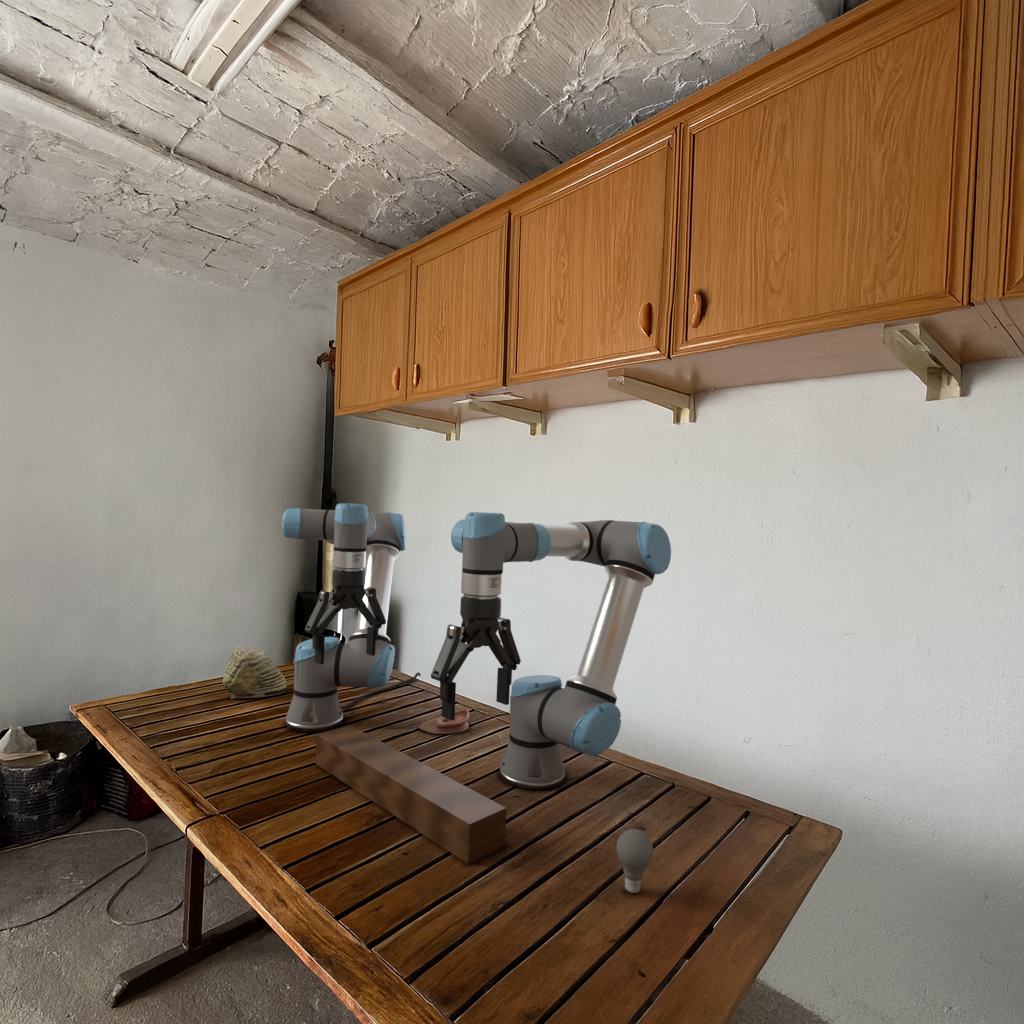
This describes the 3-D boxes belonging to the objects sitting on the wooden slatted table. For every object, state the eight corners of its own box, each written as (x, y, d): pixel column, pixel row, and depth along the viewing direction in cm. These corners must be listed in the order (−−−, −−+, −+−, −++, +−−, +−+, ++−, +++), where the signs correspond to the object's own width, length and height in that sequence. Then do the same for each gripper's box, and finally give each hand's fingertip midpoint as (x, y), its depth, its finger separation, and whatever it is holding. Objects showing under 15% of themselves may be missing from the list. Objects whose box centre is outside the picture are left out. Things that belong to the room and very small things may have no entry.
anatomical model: (415, 716, 173) (429, 704, 184) (414, 731, 173) (428, 717, 184) (462, 722, 170) (473, 709, 181) (461, 737, 170) (472, 722, 181)
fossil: (218, 695, 195) (220, 647, 195) (278, 685, 208) (279, 640, 207) (228, 703, 189) (230, 653, 188) (289, 692, 201) (290, 645, 201)
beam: (315, 763, 150) (316, 733, 150) (349, 754, 156) (350, 725, 156) (468, 864, 111) (470, 824, 111) (504, 845, 118) (506, 807, 118)
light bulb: (610, 879, 108) (613, 822, 108) (644, 879, 109) (647, 822, 109) (619, 902, 102) (622, 840, 102) (655, 901, 103) (658, 840, 103)
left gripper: (307, 573, 137) (303, 670, 138) (402, 568, 155) (398, 654, 156) (291, 569, 143) (288, 663, 143) (385, 565, 160) (381, 648, 161)
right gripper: (441, 604, 105) (435, 731, 106) (541, 593, 123) (536, 702, 123) (414, 598, 110) (409, 719, 111) (514, 588, 128) (509, 692, 129)
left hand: (345, 658), depth 149 cm, fingers open, 13 cm apart
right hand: (476, 710), depth 117 cm, fingers open, 13 cm apart
